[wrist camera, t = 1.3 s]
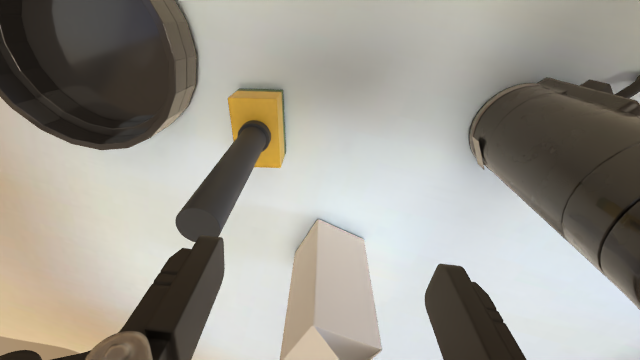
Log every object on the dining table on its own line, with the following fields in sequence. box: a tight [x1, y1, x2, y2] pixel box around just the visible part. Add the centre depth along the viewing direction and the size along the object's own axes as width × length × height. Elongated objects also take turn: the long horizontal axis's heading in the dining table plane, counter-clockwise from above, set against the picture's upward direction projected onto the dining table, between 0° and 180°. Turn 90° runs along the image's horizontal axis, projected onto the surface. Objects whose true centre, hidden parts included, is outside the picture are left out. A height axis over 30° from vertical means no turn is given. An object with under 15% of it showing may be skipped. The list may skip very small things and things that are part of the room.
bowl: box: [0, 0, 196, 150], centre depth 26 cm, size 17×17×5 cm
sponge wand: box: [176, 89, 286, 242], centre depth 23 cm, size 7×4×18 cm, turn 179°
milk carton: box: [280, 219, 382, 360], centre depth 31 cm, size 7×7×19 cm
